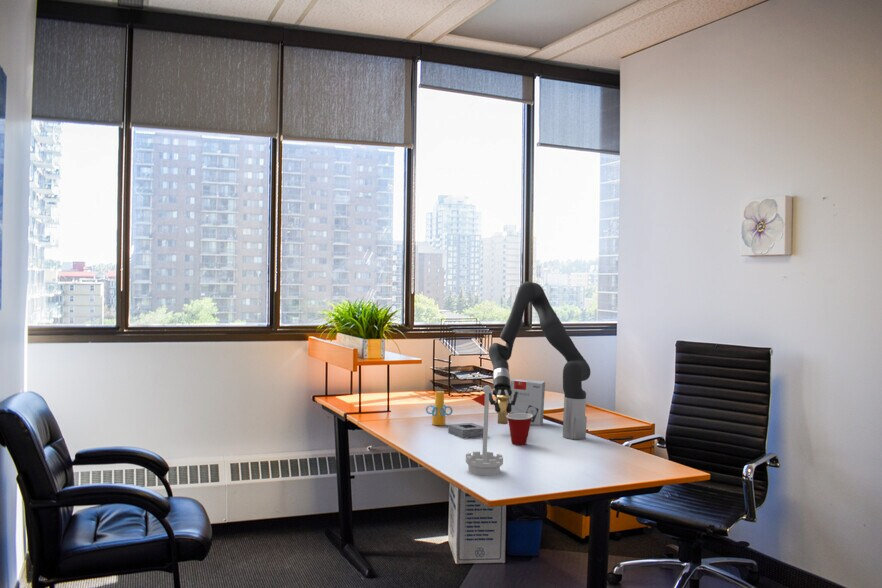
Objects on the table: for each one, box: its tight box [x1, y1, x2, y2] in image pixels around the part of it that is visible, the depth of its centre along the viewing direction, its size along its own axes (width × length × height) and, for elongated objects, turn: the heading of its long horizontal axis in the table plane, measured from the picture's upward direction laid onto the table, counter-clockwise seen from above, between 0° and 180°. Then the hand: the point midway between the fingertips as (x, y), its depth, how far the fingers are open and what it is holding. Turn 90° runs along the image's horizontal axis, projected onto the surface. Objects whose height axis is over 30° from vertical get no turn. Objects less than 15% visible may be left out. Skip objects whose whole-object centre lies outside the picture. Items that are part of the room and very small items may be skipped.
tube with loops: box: [425, 390, 453, 426], centre depth 335 cm, size 12×10×15 cm
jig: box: [447, 422, 484, 439], centre depth 316 cm, size 12×12×4 cm
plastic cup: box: [506, 413, 533, 446], centre depth 301 cm, size 11×11×12 cm
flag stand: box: [465, 384, 504, 476], centre depth 256 cm, size 13×13×30 cm
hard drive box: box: [508, 378, 546, 426], centre depth 348 cm, size 16×8×20 cm, turn 71°
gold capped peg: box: [497, 395, 510, 425], centre depth 320 cm, size 6×6×12 cm
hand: (503, 411), depth 318 cm, fingers closed on gold capped peg, 4 cm apart
